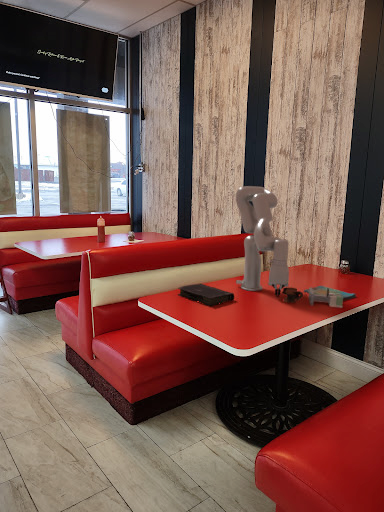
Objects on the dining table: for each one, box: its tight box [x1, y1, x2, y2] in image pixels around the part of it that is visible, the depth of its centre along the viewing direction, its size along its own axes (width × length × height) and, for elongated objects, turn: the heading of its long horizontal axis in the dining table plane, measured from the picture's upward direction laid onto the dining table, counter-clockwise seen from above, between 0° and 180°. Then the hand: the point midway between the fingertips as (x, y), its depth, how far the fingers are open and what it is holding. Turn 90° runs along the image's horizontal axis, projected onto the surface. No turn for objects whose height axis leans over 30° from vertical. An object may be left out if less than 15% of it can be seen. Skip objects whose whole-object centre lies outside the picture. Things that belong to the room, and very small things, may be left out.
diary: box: [177, 283, 235, 308], centre depth 204 cm, size 19×25×5 cm
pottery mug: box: [280, 286, 304, 304], centre depth 203 cm, size 12×9×8 cm
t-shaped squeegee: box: [308, 287, 331, 306], centre depth 200 cm, size 12×13×8 cm
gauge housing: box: [327, 293, 344, 309], centre depth 199 cm, size 6×10×5 cm, turn 168°
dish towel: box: [303, 285, 357, 302], centre depth 218 cm, size 17×23×2 cm
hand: (277, 296), depth 205 cm, fingers closed
